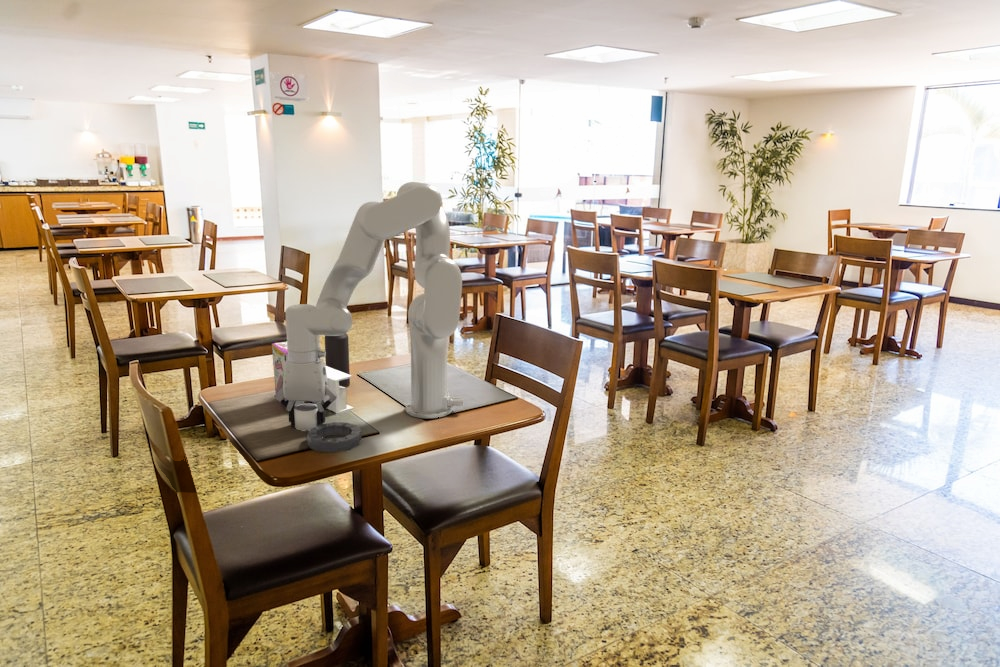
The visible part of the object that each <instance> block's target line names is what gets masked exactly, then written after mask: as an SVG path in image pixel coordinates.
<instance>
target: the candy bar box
mask: <svg viewBox="0 0 1000 667" xmlns="http://www.w3.org/2000/svg"><path fill="white" fill-rule="evenodd" d="M271 351H272V352H271V353H272V362H273V363H272V364H273V375H274V376H273V377H274V389H275V390H274V391H275V394H276V393H277V392H278V391H279V390H280V389H281V388H282V387H283V380H284V368H285V362H286V360H287V359H288V350H287V341H280V342H273V343H271ZM283 396H284V393H283ZM275 400H276V402H278V403H279V404H280V405H281V406H282V407H283V408H284V406H283V405H282V404H281V402H279V401H278V400H277V399H276V398H275ZM301 404H306V401H296V403H295V407H296V406H298V405H301Z"/></svg>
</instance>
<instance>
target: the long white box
mask: <svg viewBox="0 0 1000 667" xmlns="http://www.w3.org/2000/svg"><path fill="white" fill-rule="evenodd" d="M325 367H326V373H327V380H328V387H329V388H330V389H331V390H333V391H334V392H335V393H336V394H337V396H338V397H337V398H336V400H335V401H333V402H332V403H331V404H330V405H329V406H328V407H327V408H326V410H329V411H332V412H333V413H335V414H336V413H339V414H341V413H344V412H347V411H348V412H349V411H350V410H353V409H354V406H351V405H349V404H347V402H348V401H347V387H342V386H339V381H341V380H344V379H348V378H350V379H351V378H353V375H352V374H350V375H349V374H346V373H344V372H341V371H338V370H336V369H333V368H330V367H328V366H326V365H325ZM329 398H330V397H329V396H328V395H326V396H325V397H324V401H325V402H326V401H327V400H328V399H329ZM310 402H312V404H316V403H315V401H310ZM343 411H344V412H343ZM340 412H341V413H340Z"/></svg>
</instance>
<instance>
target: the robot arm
mask: <svg viewBox="0 0 1000 667" xmlns="http://www.w3.org/2000/svg"><path fill="white" fill-rule="evenodd" d="M442 205H443V198H442V195H441V193H440V191H439V190H438V189H437V187H435V186H434V185H432V184H430V183H425V182H418V181H409V182H405V183H403V184H402V185H401V186H400V187H399V188H398V190H397V192H396V195H395V196H393V197H391V198H389V199H386V200H384V201H381V202H378V201H367V202H365V203H363V204H362V205H360V206H359V208H358V209H357V212H356V213H355V216H354V218H353V221H352V223H351V226H350V228H349V231H348V234H347V236H346V238H345V241H344V244H343V246H342V248H341V251H340V253H339V255H338V259H337V260H336V261H335V263H334V264H333V267H332V269H331V271H330V272H329V274H328V276H327V278H326V279H325V282H324V284H323V286H322V289H321V292H320V294H319V297H318V299H317V301H316V304H315V305H313V304H309V303H308V304H307V303H304V304H302V303H300V304H293V305H289V306H288V307H287V308H286V310H285V330H286V331H285V332H286V342H287V350H288V359H287V360H286V362H285V368H284V380H283V387H282V388H281V389H280V390H279V391H278V392H277V393H276V392H275V394H274V399H275V400H276V399H277V400H278V401H279V402H281V404H282V405H283V406H284V407H285V408H286V409H285V408H284V407H283V406H282V405H281V404H280V405H281V406H282V407H283V408H284V409H285V410H286V411H287V412H288V422H289V423H290V426H291V427H295V418H294V408H295V403H296V401H305V402H311V401H315V403H314V404H316V405H317V407H318V412H317V426H318V425H321V424H325V422H326V410H327V407H328V406H329V405H330V404H331V403H332V402H333V401H335V400H336V398H337V397H338V396H337V394H336V393H335V392H334V391H333V390H331V389H330V388H329V387H328V380H327V373H326V367H325V366H326V362H325V360H324V359H323V358H325V356H326V352H325V350H322V349H321V347H320V346H321V345H320V336H325V335H328V336H340V335H343V334H345V333H346V334H347V333H349V332H350V330H351V329H352V327H353V323H354V320H353V316H352V314H351V312H350V310H348V308H347V307H348V305H349V302H350V300H351V297H352V295H353V293H354V291H355V290H356V288H357V286H358V285H359V284H360V282H361V281H363V280H364V279H365V278H367V277H369V276H370V274H371V273H372V271H374V270H373V269H374V267H375V265H376V262H377V259H378V257H379V255H380V252H381V250H382V247H383V244H384V242H385V241H386V240H390V239H393V238H395V237H398V236H399V235H402V234H404V233H406V232H408V231H410V230H412V229H415V243H416V244H415V255H414V256H415V259H414V271H413V275H414V280H415V282H416V283H417V284H418V285H419V287H422V288H423V293H422V294H419V295H417V296H416V297H414V299H412V300H411V303H410V304H409V308H408V312H407V314H408V315H407V317H408V328H409V335H410V337H409V338H410V386H411V388H410V391H411V392H410V395H411V396H410V397H411V398H410V399H411V401H410V402H408V403H407V404H406V405H405V412H406V413H407V415H409V416H411V417H414V418H419V419H438V417H439V418H443V417H447V416H448V415H450V414H451V413H453V411H452V410H454V409H453V408H454V407H464V404H465V403H464V398H463V399H462V398H461V397H460V396H451V395H450V391H449V390H448V338H449V337H451V336H452V335H453V334H454V333H455V332H456V330H457V328H458V326H459V322H460V316H461V306H462V305H461V304H462V303H461V302H462V290H463V276H462V271H461V269H460V267H459V265H458V263H456V261H455V260H453V259H452V258H450V247H451V245H450V244H451V242H450V241H451V240H450V238H451V231H450V230H451V229H450V223H449V219H448V215H447V214H446V211H445V209H444V207H443V206H442ZM283 393H284V396H283ZM326 395H328V396H329V397H330V398H329V399H328V400H327V401H326V402H325V401H324V397H325V396H326ZM277 400H276V401H277ZM278 401H277V402H278ZM279 402H278V403H279Z"/></svg>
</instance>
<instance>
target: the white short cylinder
mask: <svg viewBox="0 0 1000 667" xmlns="http://www.w3.org/2000/svg"><path fill="white" fill-rule="evenodd" d="M317 412H318V407H317V405H316V403H305V404H301V405H298V406H296V407H295V408H294V418H295V426H294V429H295V428H297V429H300V430H309V429H311V428H314V427H316V426H317Z"/></svg>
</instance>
